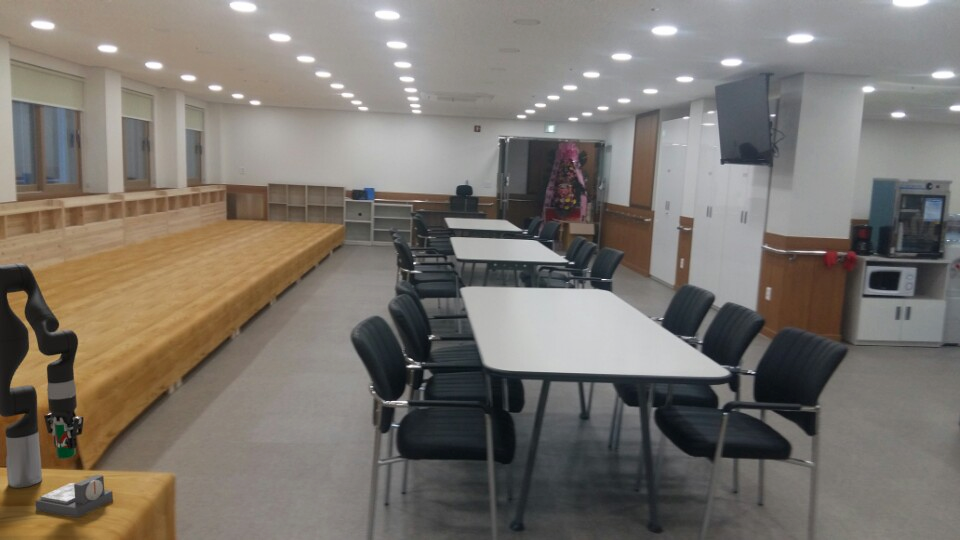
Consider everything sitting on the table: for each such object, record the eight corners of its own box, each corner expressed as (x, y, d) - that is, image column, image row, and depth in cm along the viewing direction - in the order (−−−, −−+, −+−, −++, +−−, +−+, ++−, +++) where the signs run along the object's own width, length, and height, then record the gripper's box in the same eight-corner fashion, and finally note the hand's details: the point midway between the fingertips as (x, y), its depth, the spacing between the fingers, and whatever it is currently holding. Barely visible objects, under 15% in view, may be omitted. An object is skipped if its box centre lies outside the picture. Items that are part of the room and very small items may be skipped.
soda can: (79, 453, 220) (76, 416, 219) (68, 459, 215) (65, 422, 214) (64, 453, 220) (61, 416, 219) (53, 459, 215) (50, 421, 214)
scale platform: (40, 499, 215) (40, 496, 215) (71, 485, 226) (71, 482, 226) (67, 504, 212) (67, 501, 212) (97, 489, 222) (97, 486, 222)
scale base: (35, 510, 215) (33, 482, 214) (72, 493, 227) (70, 466, 226) (78, 518, 210) (76, 489, 209) (113, 500, 222) (112, 473, 221)
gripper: (33, 396, 214) (37, 449, 216) (68, 400, 210) (72, 454, 212) (55, 389, 221) (59, 441, 223) (90, 393, 217) (93, 446, 219)
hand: (65, 447), depth 217 cm, fingers closed on soda can, 5 cm apart
